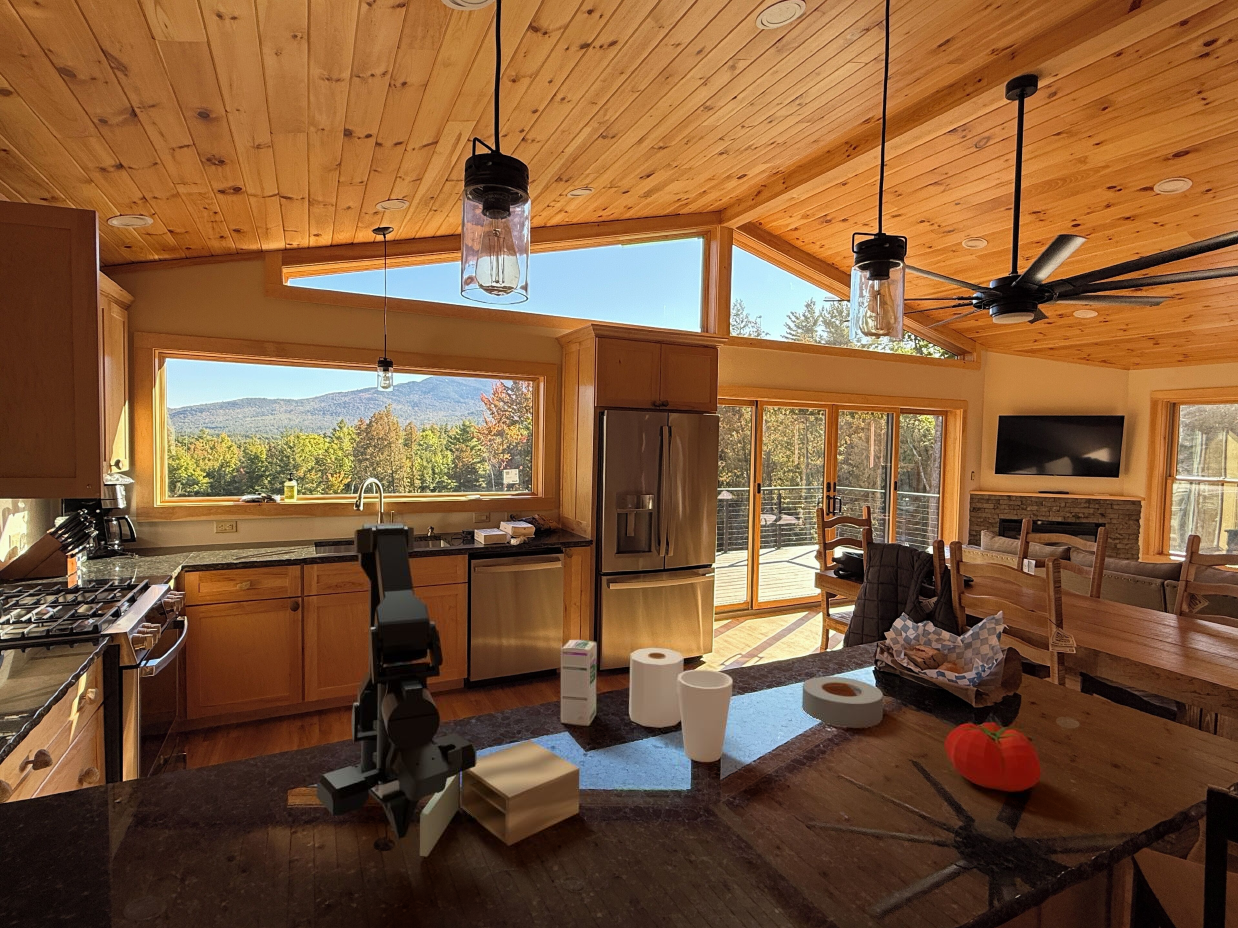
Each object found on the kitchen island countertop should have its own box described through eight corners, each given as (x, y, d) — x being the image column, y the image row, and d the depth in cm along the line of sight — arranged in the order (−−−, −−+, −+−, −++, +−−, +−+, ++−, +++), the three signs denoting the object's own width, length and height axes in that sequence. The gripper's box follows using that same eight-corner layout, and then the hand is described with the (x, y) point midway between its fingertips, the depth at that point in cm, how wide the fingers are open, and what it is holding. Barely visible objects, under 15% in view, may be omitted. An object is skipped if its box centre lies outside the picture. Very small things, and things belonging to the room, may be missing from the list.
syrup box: (589, 726, 126) (591, 649, 125) (559, 723, 127) (560, 647, 126) (596, 714, 131) (598, 640, 131) (567, 711, 133) (568, 638, 132)
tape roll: (790, 699, 142) (791, 675, 142) (860, 698, 143) (860, 674, 143) (820, 731, 127) (821, 704, 126) (897, 729, 128) (898, 702, 128)
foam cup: (668, 759, 113) (670, 683, 113) (684, 737, 122) (685, 666, 122) (723, 770, 110) (726, 692, 109) (736, 747, 118) (738, 674, 118)
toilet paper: (618, 718, 130) (620, 656, 129) (647, 702, 138) (649, 643, 138) (663, 732, 124) (665, 667, 123) (691, 714, 132) (692, 653, 132)
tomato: (1051, 782, 108) (1053, 728, 108) (1033, 813, 99) (1035, 754, 99) (958, 754, 118) (960, 704, 117) (934, 779, 109) (936, 725, 108)
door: (453, 804, 97) (454, 766, 97) (460, 805, 97) (461, 766, 97) (419, 856, 85) (419, 812, 85) (427, 856, 85) (427, 813, 85)
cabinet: (461, 808, 97) (461, 763, 97) (529, 780, 105) (529, 739, 105) (508, 845, 88) (509, 796, 88) (578, 812, 97) (579, 767, 96)
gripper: (352, 761, 72) (351, 903, 73) (500, 715, 85) (498, 836, 85) (315, 727, 80) (314, 855, 81) (455, 689, 93) (454, 800, 93)
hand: (400, 836), depth 85 cm, fingers closed
